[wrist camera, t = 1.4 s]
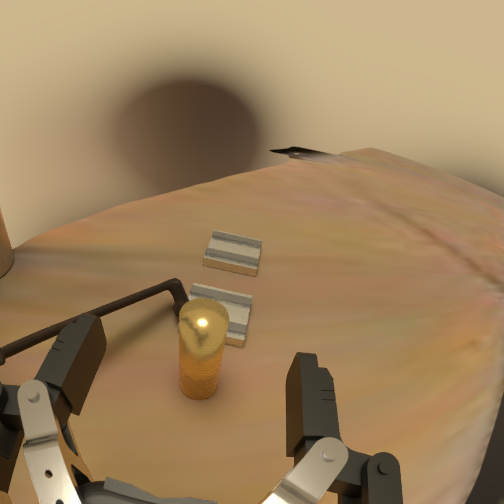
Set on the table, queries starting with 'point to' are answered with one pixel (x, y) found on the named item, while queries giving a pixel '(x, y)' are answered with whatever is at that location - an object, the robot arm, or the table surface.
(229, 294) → the metal plates
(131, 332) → the table surface
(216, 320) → the link pin
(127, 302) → the wrench
